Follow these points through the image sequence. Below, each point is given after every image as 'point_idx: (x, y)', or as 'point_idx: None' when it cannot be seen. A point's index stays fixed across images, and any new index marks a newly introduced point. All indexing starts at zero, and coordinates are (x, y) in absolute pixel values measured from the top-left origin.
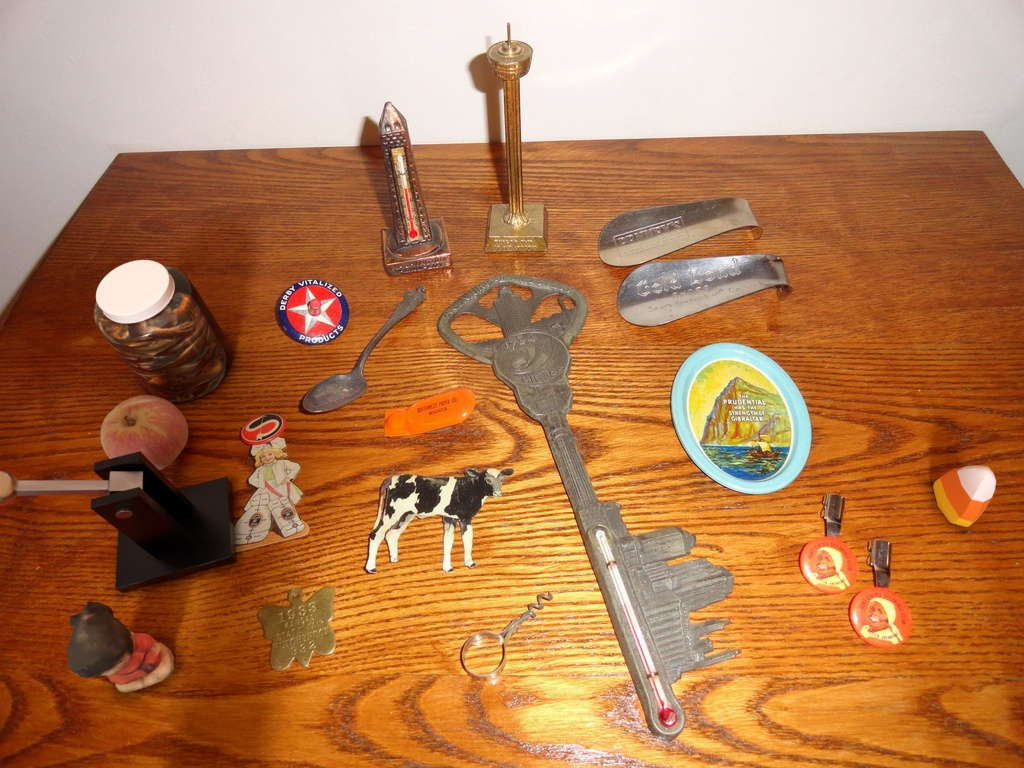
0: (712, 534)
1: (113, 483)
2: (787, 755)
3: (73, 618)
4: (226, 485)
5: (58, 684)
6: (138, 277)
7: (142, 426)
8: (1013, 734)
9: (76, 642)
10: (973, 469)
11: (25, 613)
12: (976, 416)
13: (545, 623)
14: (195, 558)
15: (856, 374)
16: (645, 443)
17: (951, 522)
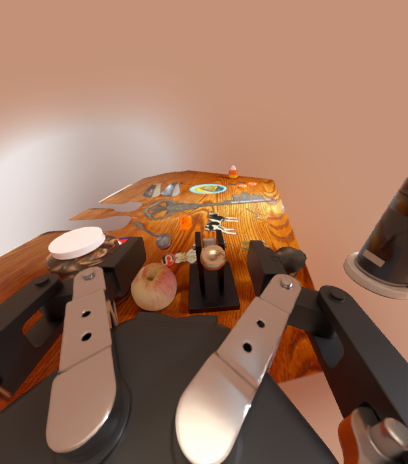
0: (234, 192)
1: (210, 239)
2: (277, 191)
3: (280, 259)
4: (194, 264)
5: (292, 339)
6: (71, 236)
7: (160, 268)
8: (269, 179)
9: (293, 252)
10: (232, 166)
11: None
12: (217, 175)
13: (253, 209)
14: (227, 272)
15: (204, 180)
16: (210, 196)
17: (236, 177)
